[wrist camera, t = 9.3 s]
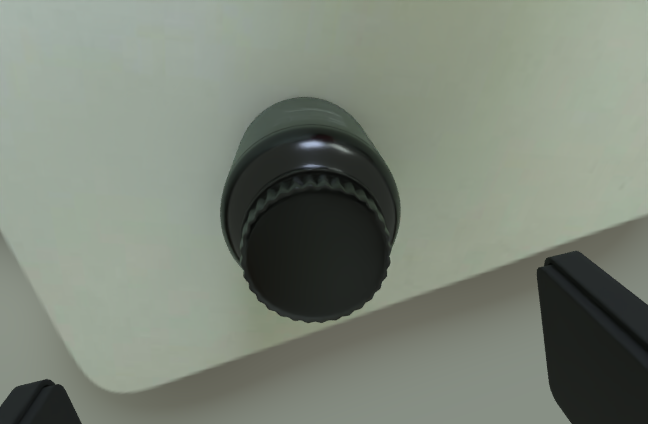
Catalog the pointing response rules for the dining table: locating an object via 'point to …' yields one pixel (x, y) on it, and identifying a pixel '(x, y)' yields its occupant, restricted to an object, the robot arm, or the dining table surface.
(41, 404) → the robot arm
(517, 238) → the dining table surface
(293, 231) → the supplement bottle
